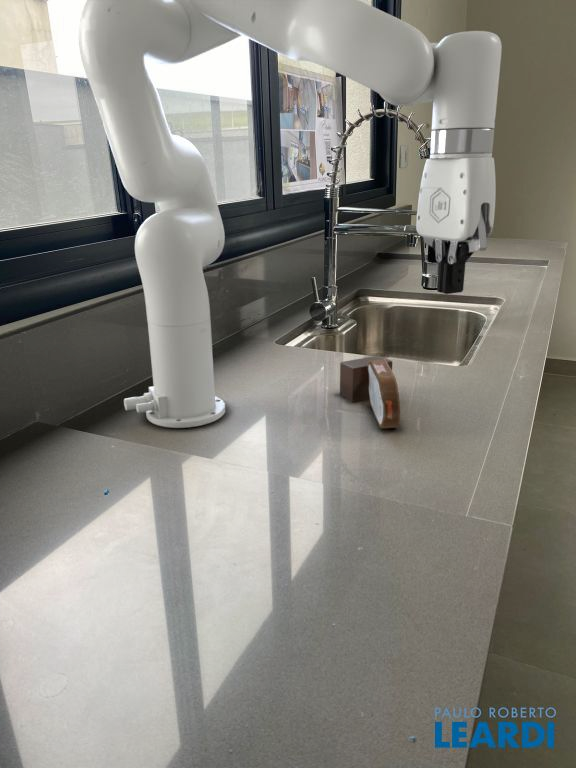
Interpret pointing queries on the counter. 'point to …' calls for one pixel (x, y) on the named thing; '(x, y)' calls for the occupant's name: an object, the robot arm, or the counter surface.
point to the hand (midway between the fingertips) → (449, 291)
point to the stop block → (356, 378)
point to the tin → (384, 394)
